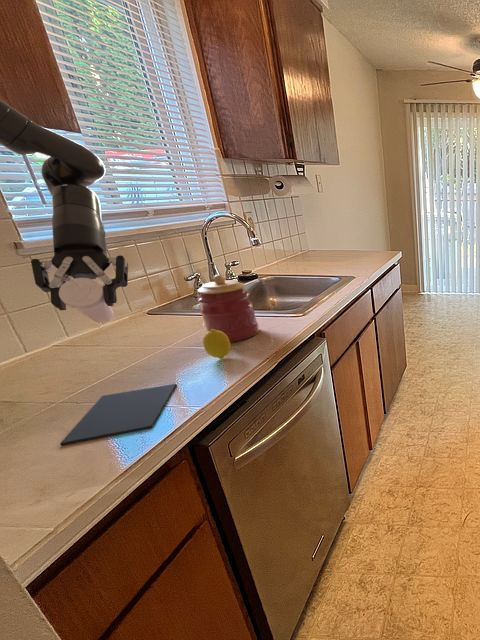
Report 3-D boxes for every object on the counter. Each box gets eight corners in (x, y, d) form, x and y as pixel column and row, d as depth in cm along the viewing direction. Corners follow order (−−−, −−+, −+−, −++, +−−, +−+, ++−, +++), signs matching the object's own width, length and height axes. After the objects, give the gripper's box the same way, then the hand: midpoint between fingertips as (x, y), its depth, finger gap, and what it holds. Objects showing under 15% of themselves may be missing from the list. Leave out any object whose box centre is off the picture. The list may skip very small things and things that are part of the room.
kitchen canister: (198, 342, 112) (177, 279, 104) (232, 326, 123) (215, 269, 116) (238, 344, 110) (220, 281, 102) (269, 328, 121) (255, 270, 114)
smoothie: (123, 301, 87) (94, 265, 75) (120, 328, 85) (90, 296, 73) (84, 300, 84) (48, 263, 72) (80, 328, 82) (42, 295, 70)
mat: (61, 445, 68) (59, 443, 68) (103, 397, 83) (102, 395, 83) (152, 428, 73) (151, 425, 73) (176, 385, 88) (176, 383, 88)
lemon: (223, 364, 98) (214, 333, 95) (203, 362, 99) (193, 332, 96) (239, 355, 103) (230, 325, 100) (220, 353, 104) (211, 325, 101)
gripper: (18, 222, 74) (21, 301, 70) (118, 221, 81) (126, 293, 77) (40, 246, 81) (45, 320, 77) (131, 243, 87) (139, 311, 83)
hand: (85, 306), depth 77 cm, fingers closed on smoothie, 6 cm apart
